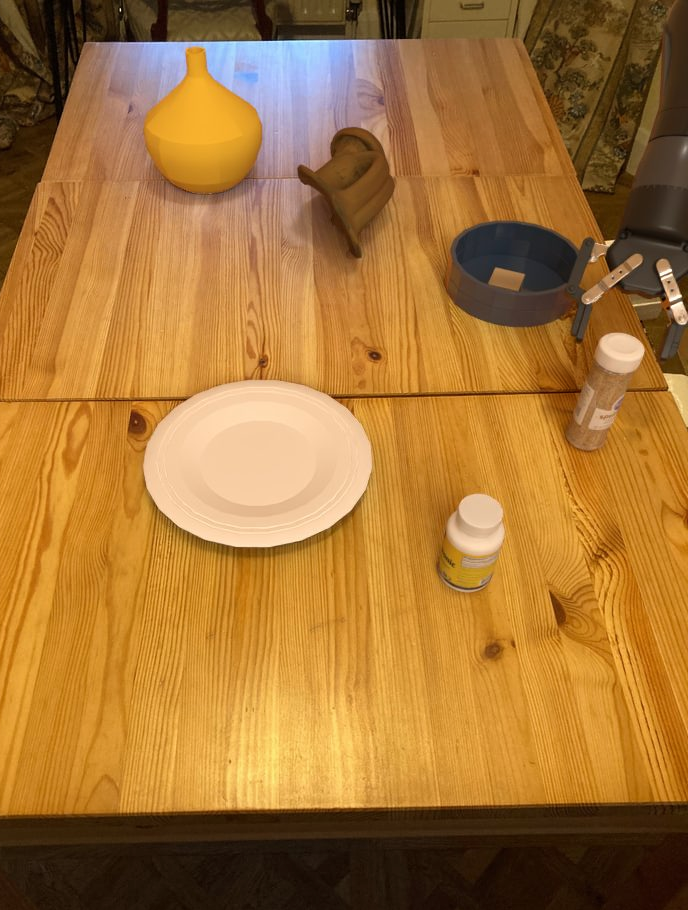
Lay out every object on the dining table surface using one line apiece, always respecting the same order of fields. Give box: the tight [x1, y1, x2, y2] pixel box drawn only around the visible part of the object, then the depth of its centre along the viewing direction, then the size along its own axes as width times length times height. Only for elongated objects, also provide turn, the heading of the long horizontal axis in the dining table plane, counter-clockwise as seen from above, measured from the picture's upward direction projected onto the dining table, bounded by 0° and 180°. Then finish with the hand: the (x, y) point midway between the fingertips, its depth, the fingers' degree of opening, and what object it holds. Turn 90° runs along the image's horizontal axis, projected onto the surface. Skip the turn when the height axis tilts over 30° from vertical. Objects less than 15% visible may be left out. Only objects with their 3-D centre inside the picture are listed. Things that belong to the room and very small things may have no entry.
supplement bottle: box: [437, 493, 506, 593], centre depth 73 cm, size 5×5×10 cm
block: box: [488, 268, 525, 292], centre depth 101 cm, size 4×4×4 cm
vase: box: [142, 46, 263, 195], centre depth 117 cm, size 18×18×19 cm
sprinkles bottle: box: [564, 332, 645, 452], centre depth 83 cm, size 5×5×13 cm
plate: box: [142, 379, 373, 549], centre depth 84 cm, size 25×25×2 cm
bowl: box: [444, 219, 580, 328], centre depth 104 cm, size 17×17×6 cm
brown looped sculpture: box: [296, 126, 396, 259], centre depth 112 cm, size 18×13×22 cm
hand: (619, 352), depth 80 cm, fingers open, 8 cm apart
